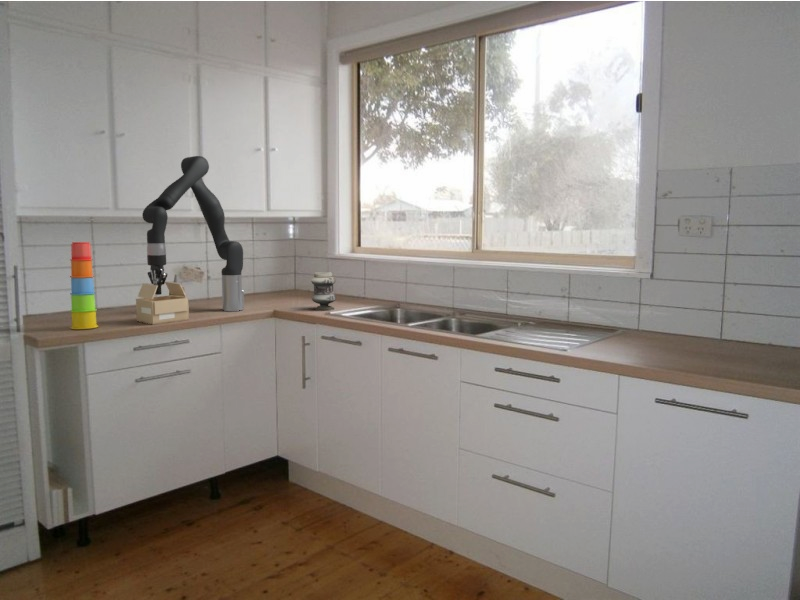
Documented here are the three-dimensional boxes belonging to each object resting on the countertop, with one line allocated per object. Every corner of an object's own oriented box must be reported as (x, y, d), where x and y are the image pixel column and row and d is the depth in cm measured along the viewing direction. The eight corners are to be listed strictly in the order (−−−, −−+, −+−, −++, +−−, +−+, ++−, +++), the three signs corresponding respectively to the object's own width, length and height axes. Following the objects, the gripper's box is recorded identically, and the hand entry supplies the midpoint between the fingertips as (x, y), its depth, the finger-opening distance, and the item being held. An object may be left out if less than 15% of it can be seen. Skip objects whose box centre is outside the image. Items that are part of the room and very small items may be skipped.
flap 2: (171, 293, 285) (165, 281, 283) (186, 295, 277) (180, 283, 275) (170, 293, 285) (164, 282, 282) (185, 296, 277) (179, 284, 275)
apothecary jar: (316, 307, 320) (315, 271, 318) (339, 307, 318) (339, 271, 316) (308, 310, 309) (307, 273, 306) (332, 311, 306) (331, 273, 304)
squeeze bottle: (181, 314, 295) (179, 275, 293) (165, 313, 297) (163, 275, 294) (190, 311, 303) (188, 274, 301) (174, 311, 305) (173, 273, 302)
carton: (171, 316, 288) (170, 295, 287) (189, 320, 278) (188, 297, 277) (136, 321, 275) (135, 298, 274) (153, 325, 266) (152, 301, 265)
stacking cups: (64, 328, 256) (59, 242, 252) (88, 325, 265) (83, 241, 261) (80, 331, 251) (74, 242, 247) (104, 327, 260) (99, 242, 255)
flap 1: (138, 296, 274) (143, 283, 275) (152, 299, 266) (158, 285, 267) (137, 296, 273) (142, 283, 275) (151, 298, 266) (157, 285, 267)
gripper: (172, 254, 270) (174, 294, 273) (156, 253, 279) (158, 292, 281) (156, 254, 265) (157, 296, 267) (140, 253, 273) (142, 294, 275)
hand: (158, 294), depth 274 cm, fingers closed
